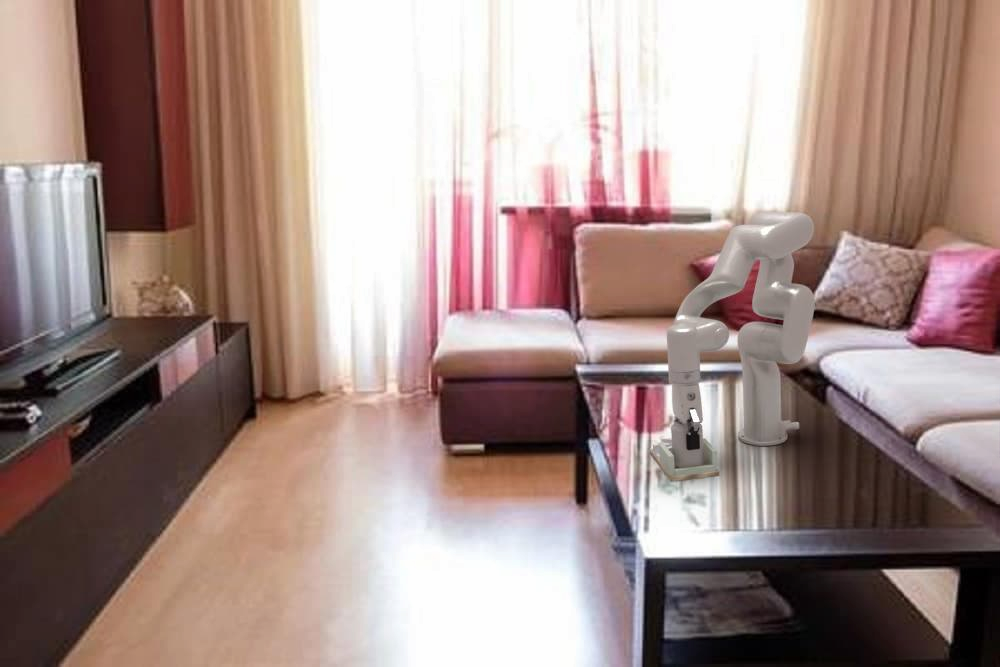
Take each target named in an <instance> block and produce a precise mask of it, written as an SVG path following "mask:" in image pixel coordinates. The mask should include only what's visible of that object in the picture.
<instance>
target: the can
mask: <svg viewBox="0 0 1000 667" xmlns="http://www.w3.org/2000/svg"><path fill="white" fill-rule="evenodd" d="M691 421H692V420H689V421H687V422H691ZM691 426H693V425H689V428H691ZM699 428H700V429H699V431H700V449H696V450H687V448H686V434H687V430H686V426H685V424H683V423H682V422H681V421H680V420H679V419H678V418H676V419H675V420H674V419H673V424H671V427H670V429H671V430H670V432H671V438H672V452H673V456H674V465H675V466H677V468H679V469H680V468H688V467H696V466H701V465H703V464H704V452H703V439H704V437H703V436H704V435H703V425H702V423H700V424H699Z"/></svg>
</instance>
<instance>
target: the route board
mask: <svg viewBox="0 0 1000 667" xmlns="http://www.w3.org/2000/svg"><path fill="white" fill-rule="evenodd" d="M649 454H650V456H652V458H653V459H654V461H655V462H656V463H657V465H658V466H659V467H660V469H661V470H662V471H663V473H664V474H665V476H666V477H667V478H668V479H669V481H670V482H677V481H678V482H679V481H685V480H687V481H688V480H694V479H702V478H709V477H710V478H712V477H717V476H716V475H719V476H720V470H719V469H718V470H715V471H714V472H708V473H700V474H692V475H684V476H670V475H669V474H668V473H667V471H666V470H665V469H664V467H663V466H662V465H661V464H660V459H659V458H657V457H655V456H653V448H652V449H649ZM704 465H707V464H706V462H705V461H704V464H703V465H701V466H704ZM674 468H675V469H679V468H677V466H675V465H674Z"/></svg>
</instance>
